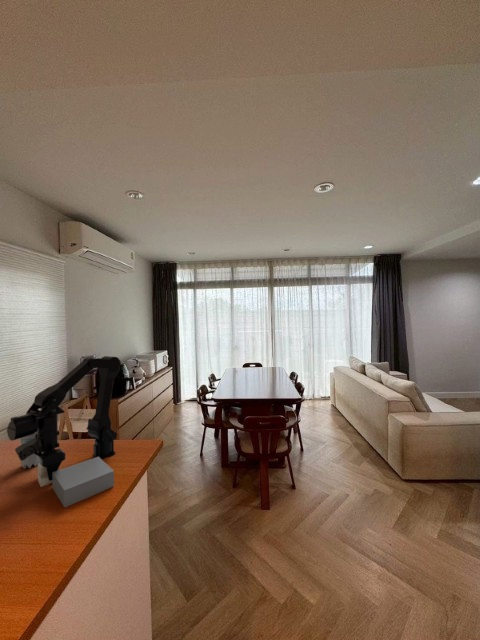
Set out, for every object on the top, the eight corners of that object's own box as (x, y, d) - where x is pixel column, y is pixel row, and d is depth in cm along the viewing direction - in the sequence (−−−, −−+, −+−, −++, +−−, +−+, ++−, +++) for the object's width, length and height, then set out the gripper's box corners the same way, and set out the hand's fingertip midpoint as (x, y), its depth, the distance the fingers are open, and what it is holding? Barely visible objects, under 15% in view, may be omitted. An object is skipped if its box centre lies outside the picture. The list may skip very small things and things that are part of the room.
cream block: (55, 474, 96) (54, 457, 97) (58, 480, 93) (58, 462, 93) (37, 481, 93) (37, 463, 93) (40, 487, 89) (40, 468, 89)
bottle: (46, 462, 105) (45, 410, 105) (28, 471, 99) (27, 415, 99) (34, 459, 108) (33, 408, 108) (15, 468, 101) (14, 414, 101)
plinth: (98, 470, 99) (98, 456, 99) (114, 486, 89) (113, 470, 89) (52, 487, 89) (52, 472, 89) (64, 507, 79) (64, 490, 79)
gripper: (13, 429, 94) (13, 474, 94) (22, 445, 81) (22, 498, 81) (51, 420, 102) (52, 462, 102) (65, 434, 89) (66, 482, 89)
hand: (47, 475), depth 93 cm, fingers open, 8 cm apart
